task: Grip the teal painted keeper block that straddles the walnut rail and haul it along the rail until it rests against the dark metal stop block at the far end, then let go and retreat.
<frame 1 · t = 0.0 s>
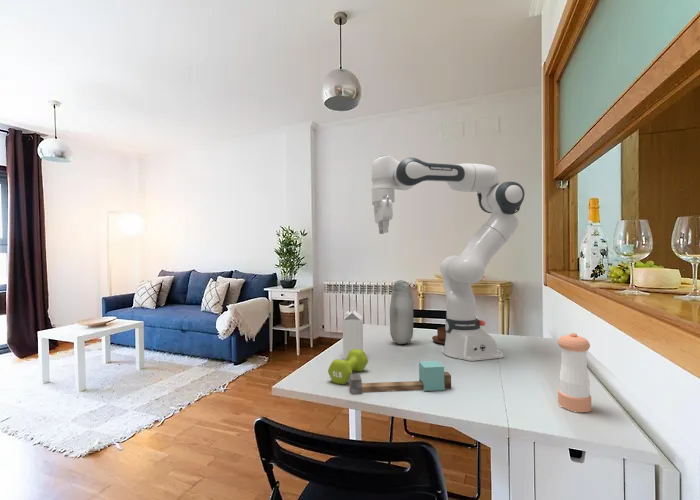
hand: (383, 233, 136), 48 cm above the table, tool pointing down, fingers open, 8 cm apart
milk carton: (353, 357, 135), on the table
dumbbell: (349, 377, 114), on the table
pepper shaker: (574, 407, 90), on the table
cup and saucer: (445, 343, 156), on the table
keeper: (431, 375, 104), point 4 cm above the table, slide at 0.0 cm
rail: (400, 388, 103), on the table
glass bottle: (401, 343, 154), on the table
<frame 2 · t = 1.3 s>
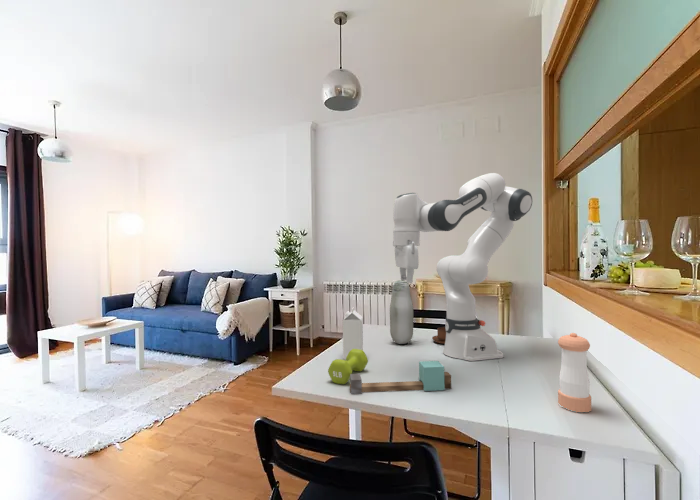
hand: (406, 281, 118), 31 cm above the table, tool pointing down, fingers open, 8 cm apart
nothing on the table moved.
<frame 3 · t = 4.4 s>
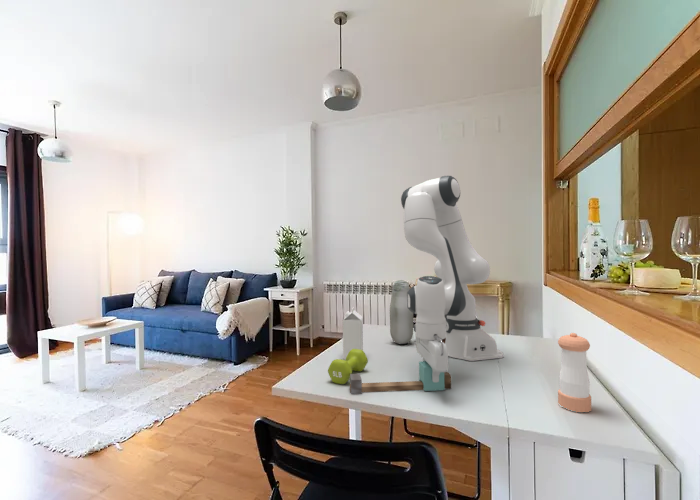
hand: (431, 377, 104), 3 cm above the table, tool pointing down, fingers closed on keeper, 5 cm apart
keeper: (431, 375, 104), point 4 cm above the table, slide at 0.0 cm, touching gripper
everything else where it was.
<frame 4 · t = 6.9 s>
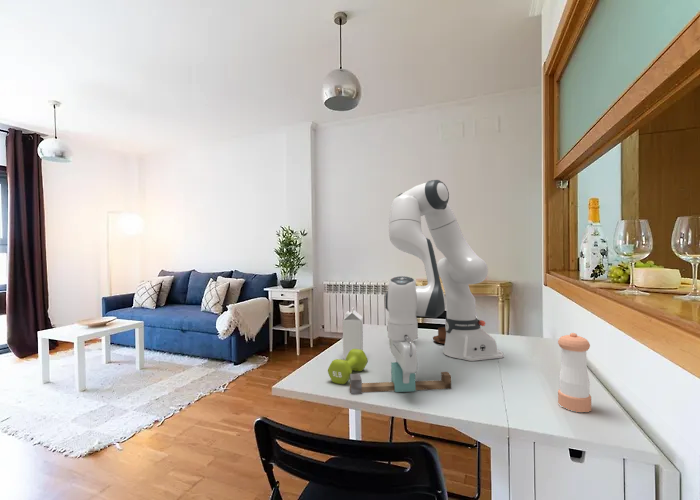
hand: (402, 378, 104), 3 cm above the table, tool pointing down, fingers closed on keeper, 5 cm apart
keeper: (403, 376, 104), point 4 cm above the table, slide at 8.6 cm, touching gripper
everything else where it was.
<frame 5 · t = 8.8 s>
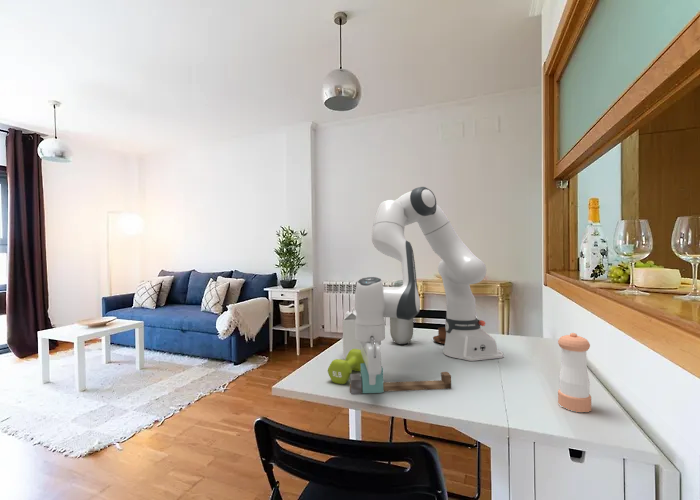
hand: (370, 379, 103), 3 cm above the table, tool pointing down, fingers closed on keeper, 5 cm apart
keeper: (371, 377, 103), point 4 cm above the table, slide at 18.0 cm, touching gripper
everything else where it was.
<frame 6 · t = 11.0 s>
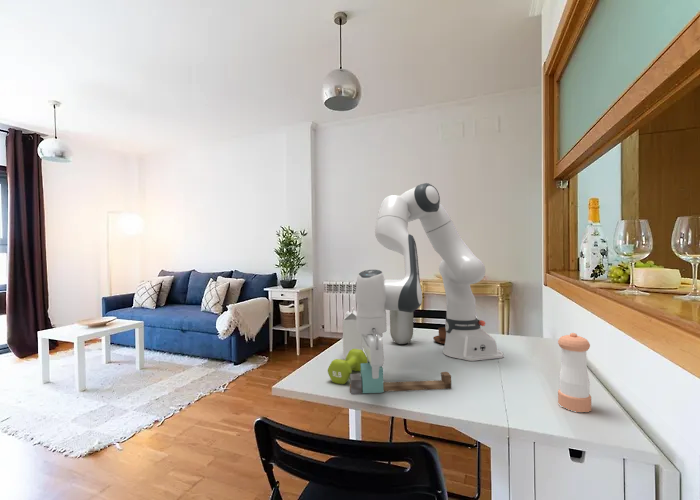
hand: (372, 371, 103), 5 cm above the table, tool pointing down, fingers open, 8 cm apart
keeper: (371, 377, 103), point 4 cm above the table, slide at 18.0 cm
everything else where it was.
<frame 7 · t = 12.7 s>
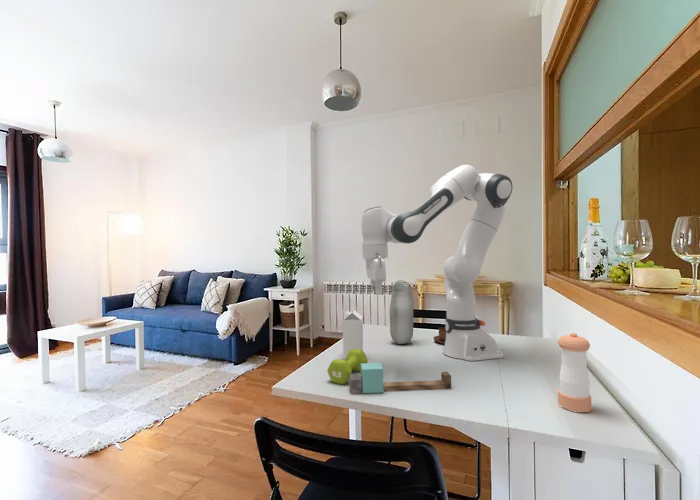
hand: (376, 292, 122), 26 cm above the table, tool pointing down, fingers open, 8 cm apart
nothing on the table moved.
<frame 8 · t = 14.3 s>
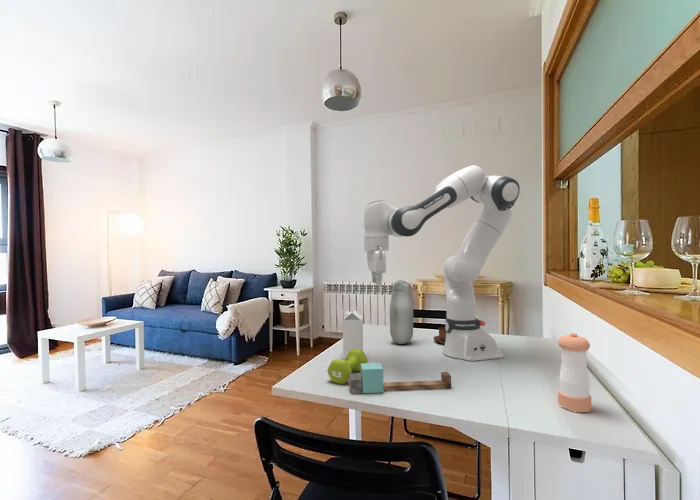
hand: (376, 284, 125), 29 cm above the table, tool pointing down, fingers open, 8 cm apart
nothing on the table moved.
at the end: keeper slide at 18.0 cm; the gripper is holding nothing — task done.
